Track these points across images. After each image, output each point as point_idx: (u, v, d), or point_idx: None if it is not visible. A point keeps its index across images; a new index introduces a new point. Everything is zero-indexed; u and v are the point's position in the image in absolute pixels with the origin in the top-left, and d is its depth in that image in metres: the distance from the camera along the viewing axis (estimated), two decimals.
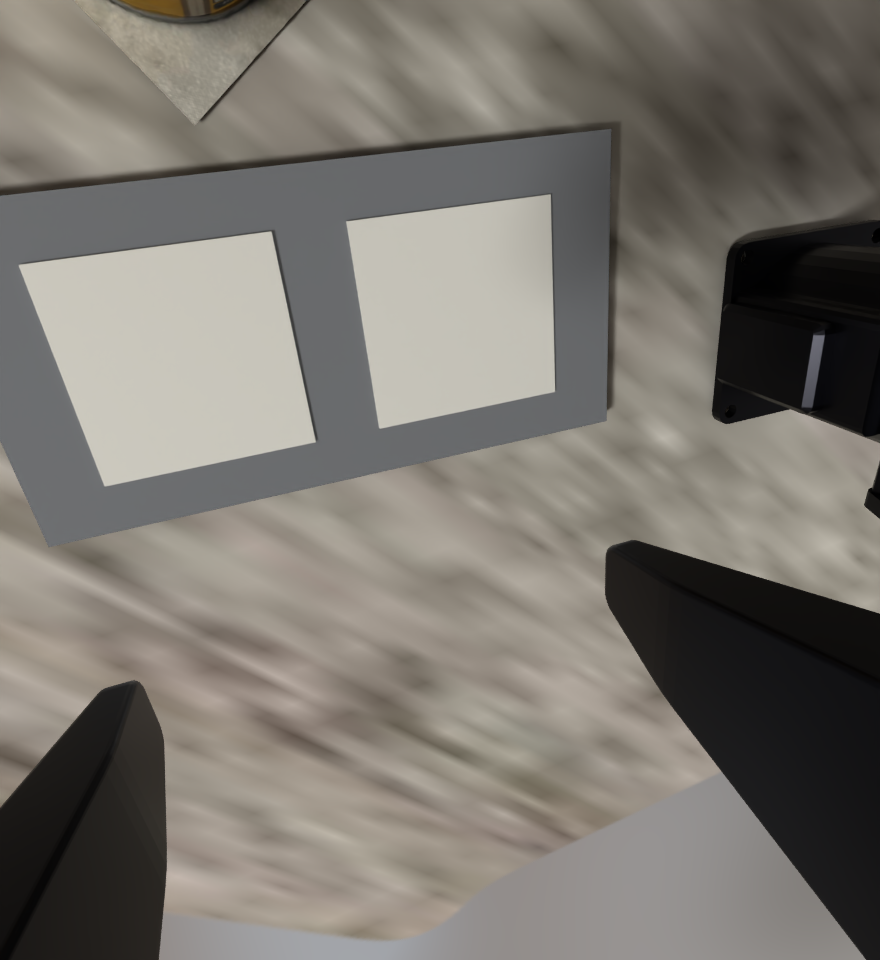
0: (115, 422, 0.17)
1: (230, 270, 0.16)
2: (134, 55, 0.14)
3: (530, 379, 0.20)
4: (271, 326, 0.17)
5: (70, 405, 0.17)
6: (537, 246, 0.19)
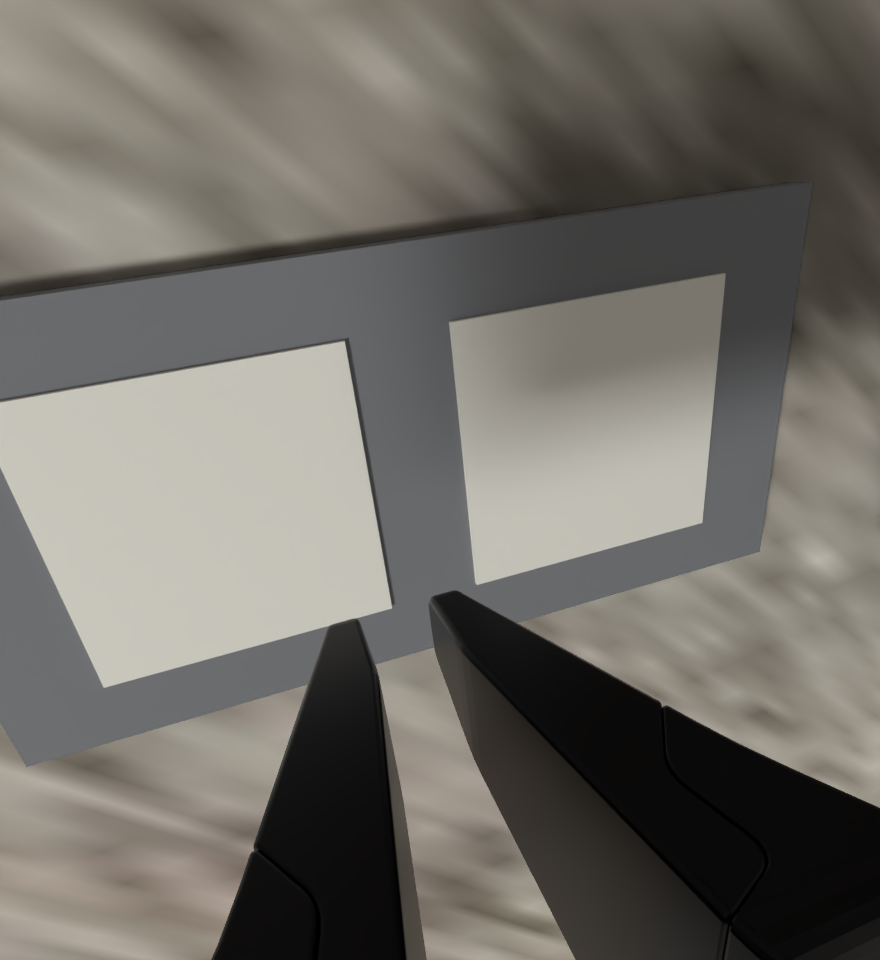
0: (118, 606, 0.12)
1: (284, 397, 0.11)
2: None
3: (673, 509, 0.15)
4: (339, 467, 0.12)
5: (53, 588, 0.12)
6: (700, 342, 0.13)
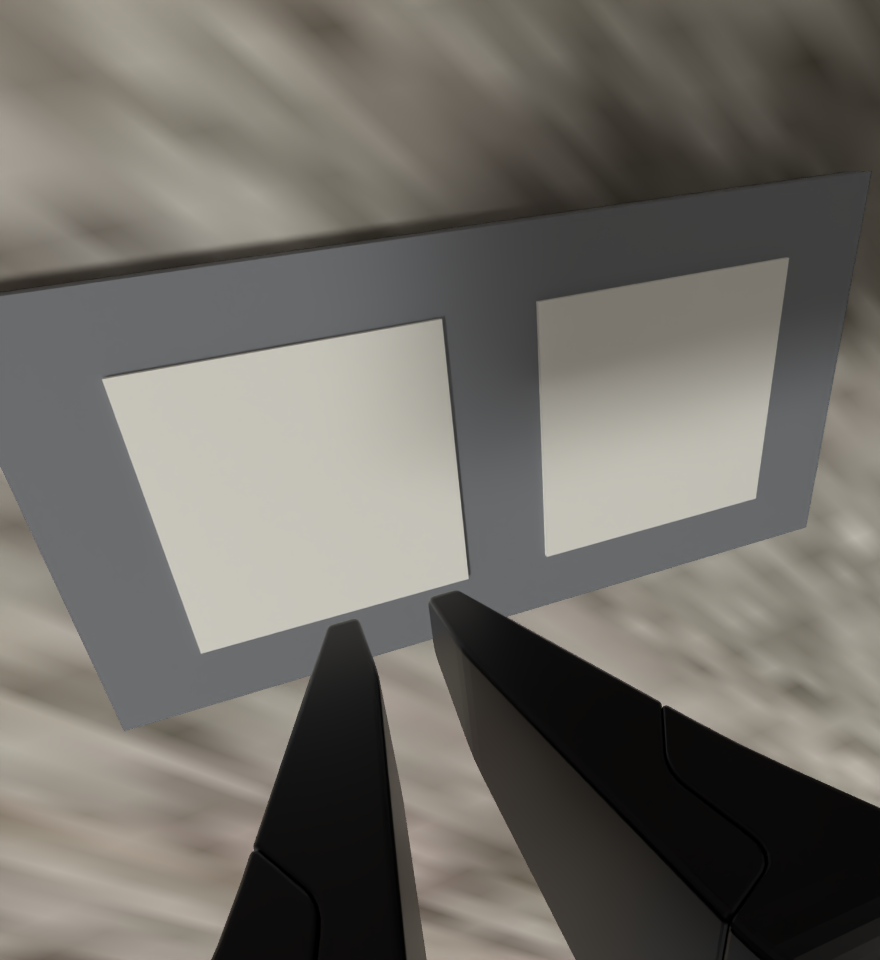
0: (220, 574, 0.12)
1: (383, 373, 0.12)
2: None
3: (729, 485, 0.16)
4: (429, 441, 0.13)
5: (161, 555, 0.12)
6: (763, 324, 0.14)
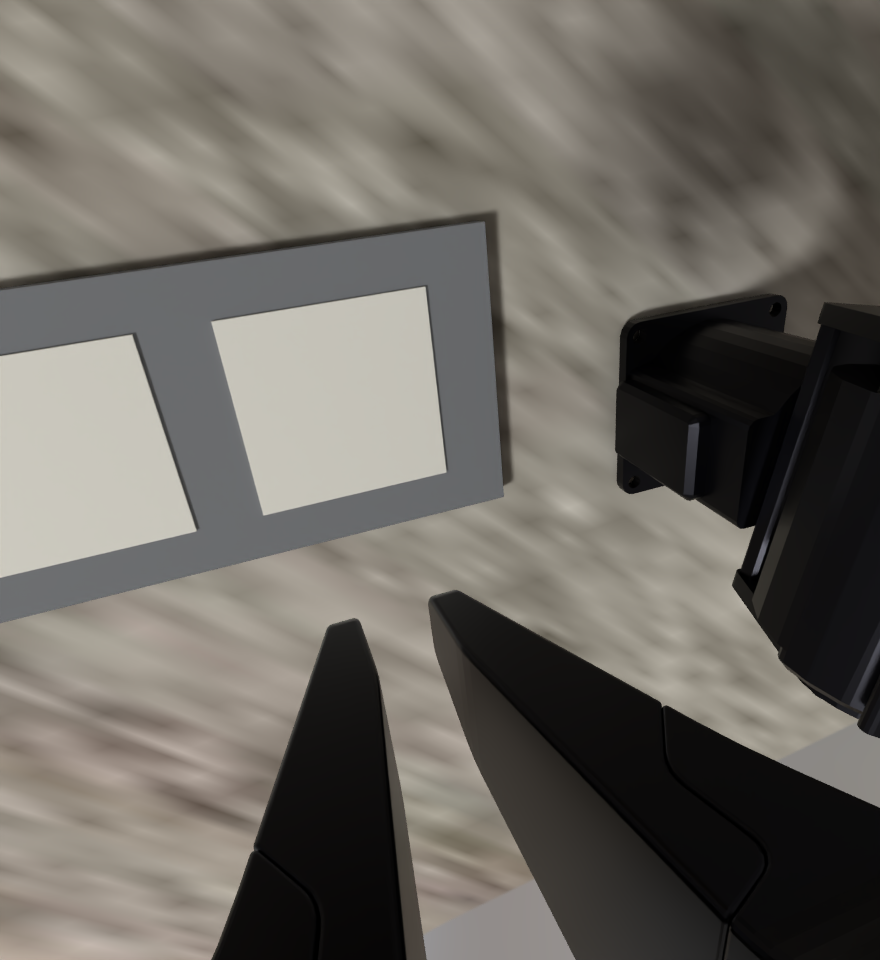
0: None
1: (91, 373, 0.16)
2: None
3: (420, 461, 0.20)
4: (139, 424, 0.17)
5: None
6: (415, 336, 0.18)
